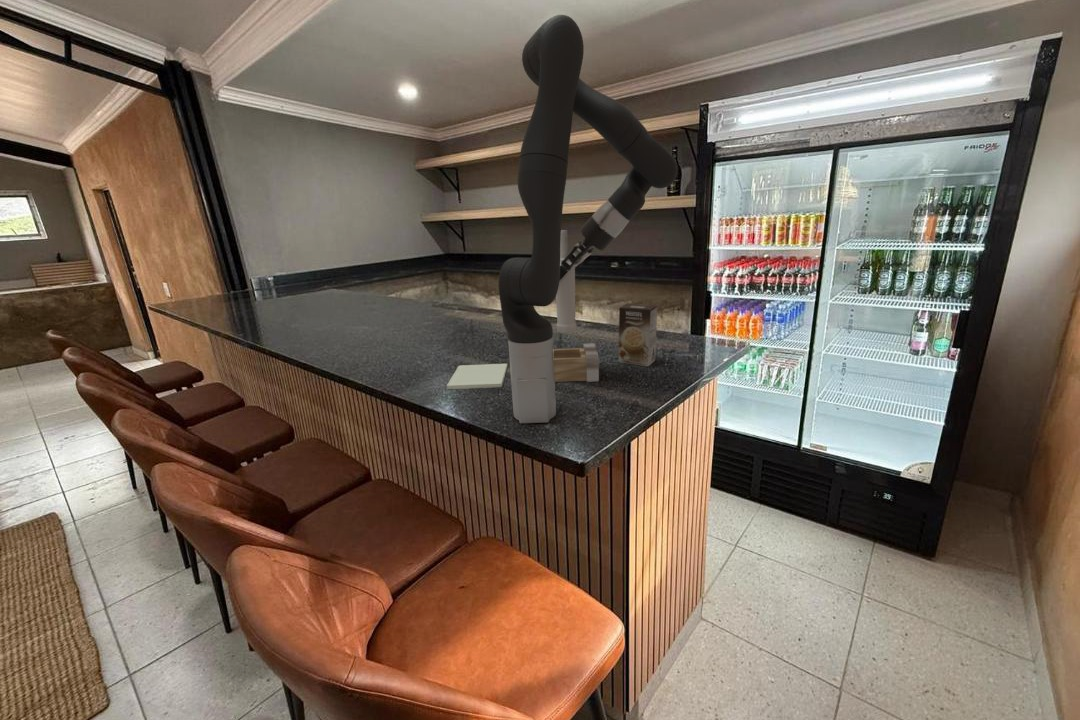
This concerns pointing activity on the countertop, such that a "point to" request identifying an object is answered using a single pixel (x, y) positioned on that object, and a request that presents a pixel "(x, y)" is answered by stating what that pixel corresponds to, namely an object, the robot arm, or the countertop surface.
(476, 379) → the sage board
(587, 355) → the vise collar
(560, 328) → the bottle
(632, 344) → the coffee box
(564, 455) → the countertop surface
